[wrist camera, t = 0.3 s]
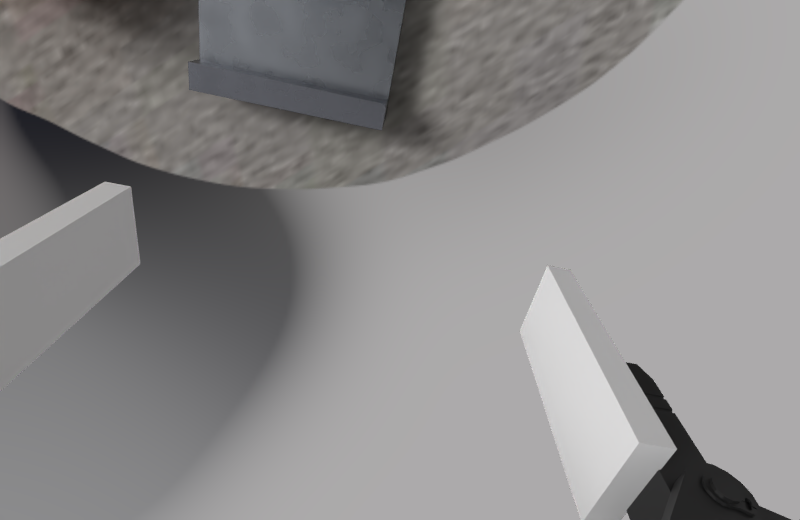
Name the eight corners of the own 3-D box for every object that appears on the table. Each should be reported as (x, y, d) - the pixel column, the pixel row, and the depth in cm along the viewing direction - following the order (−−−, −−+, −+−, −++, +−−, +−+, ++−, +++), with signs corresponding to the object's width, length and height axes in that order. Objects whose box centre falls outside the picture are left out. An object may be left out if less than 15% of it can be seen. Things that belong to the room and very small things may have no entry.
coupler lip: (208, -131, 30) (180, -150, 27) (420, -78, 31) (420, -90, 28) (210, 82, 37) (189, 89, 33) (384, 119, 38) (381, 130, 34)
